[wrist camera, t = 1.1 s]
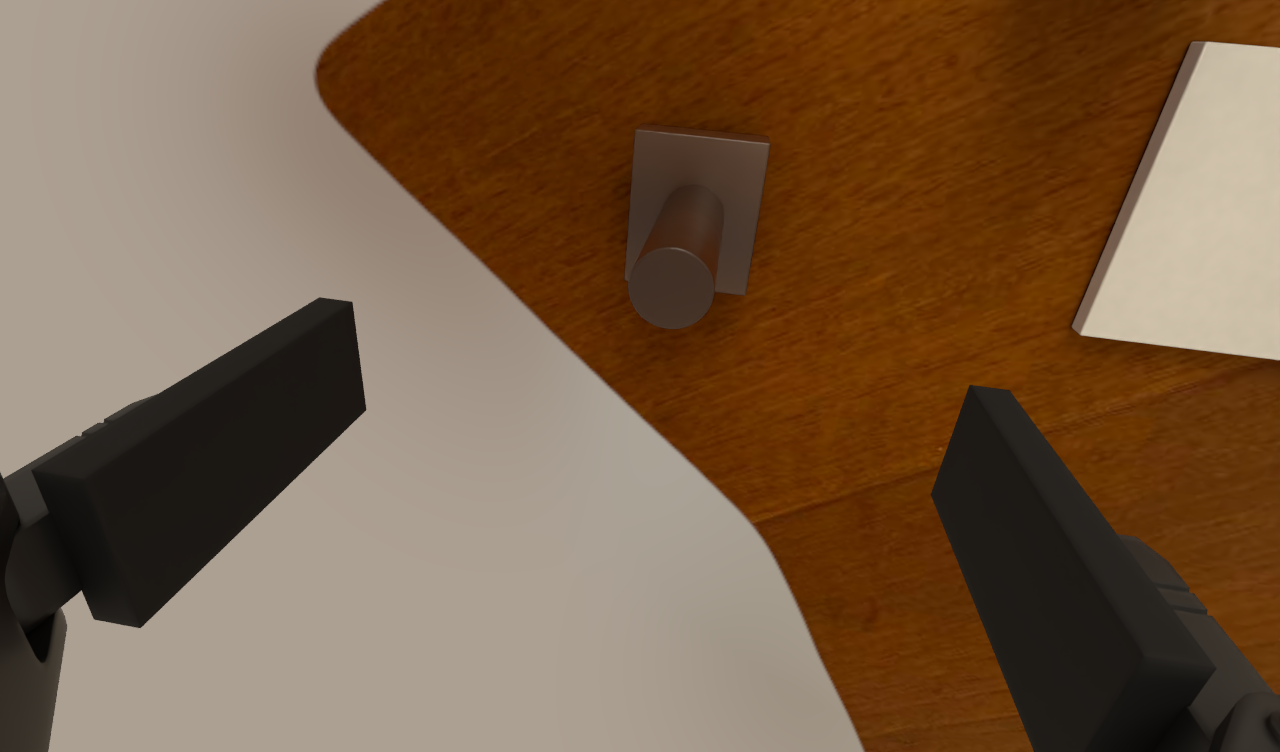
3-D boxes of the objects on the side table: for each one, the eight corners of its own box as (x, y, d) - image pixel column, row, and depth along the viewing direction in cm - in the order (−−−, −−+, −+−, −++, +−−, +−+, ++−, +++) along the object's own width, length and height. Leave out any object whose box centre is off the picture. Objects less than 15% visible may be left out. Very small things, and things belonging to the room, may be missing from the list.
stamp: (646, 119, 29) (586, 170, 18) (768, 131, 29) (780, 191, 18) (635, 257, 32) (578, 372, 21) (745, 270, 32) (744, 395, 21)
